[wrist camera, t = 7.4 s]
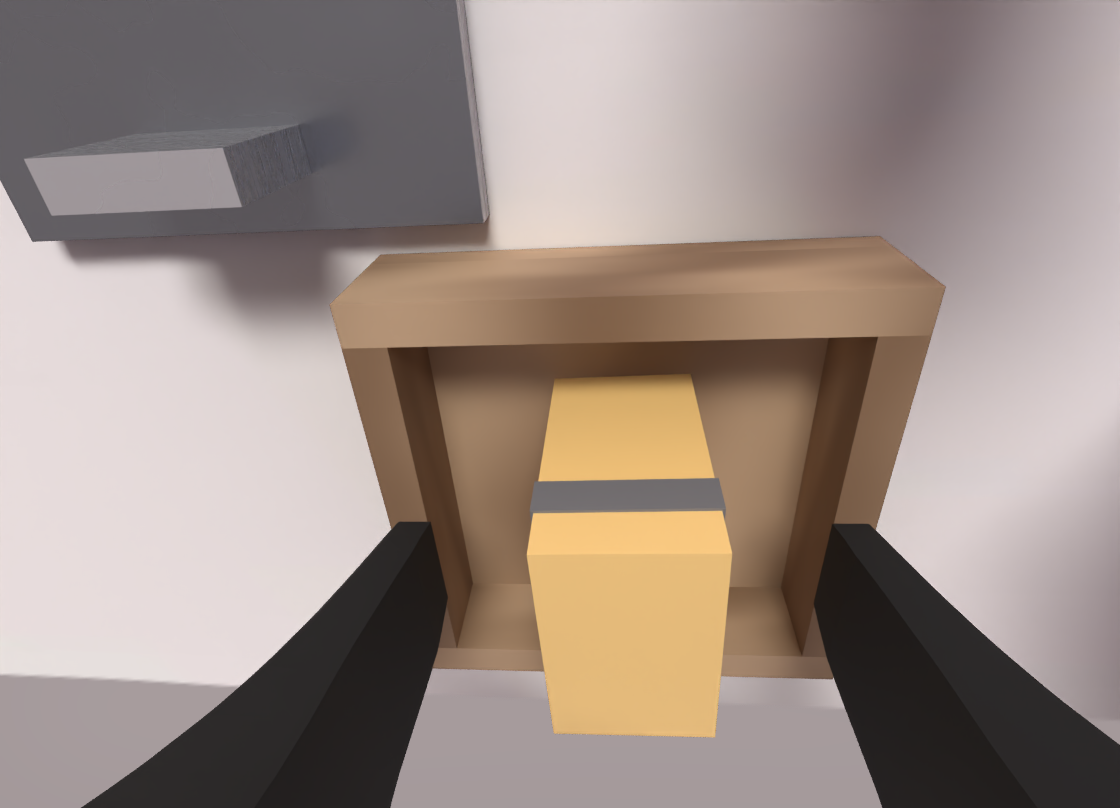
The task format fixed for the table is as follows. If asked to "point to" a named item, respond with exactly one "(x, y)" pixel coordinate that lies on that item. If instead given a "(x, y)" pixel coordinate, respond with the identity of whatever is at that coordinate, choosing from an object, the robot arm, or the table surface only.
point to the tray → (636, 350)
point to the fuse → (629, 559)
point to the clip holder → (237, 116)
